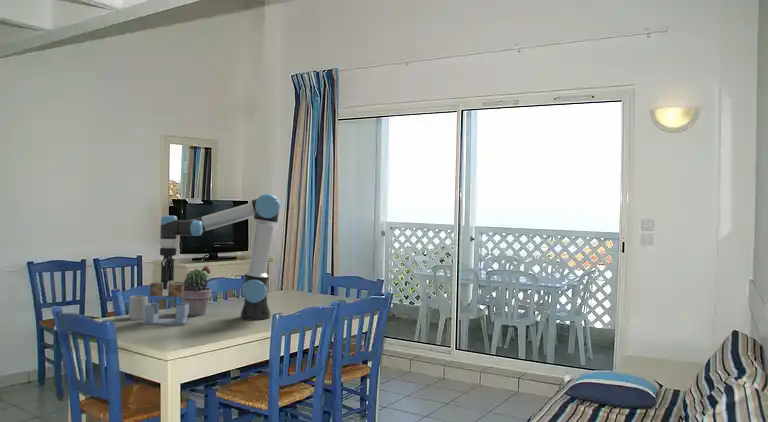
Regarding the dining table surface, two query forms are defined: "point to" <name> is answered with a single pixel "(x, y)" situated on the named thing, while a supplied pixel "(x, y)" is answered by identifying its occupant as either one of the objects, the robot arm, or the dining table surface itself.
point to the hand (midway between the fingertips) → (167, 294)
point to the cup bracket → (153, 319)
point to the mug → (137, 307)
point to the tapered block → (174, 290)
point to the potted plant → (196, 291)
